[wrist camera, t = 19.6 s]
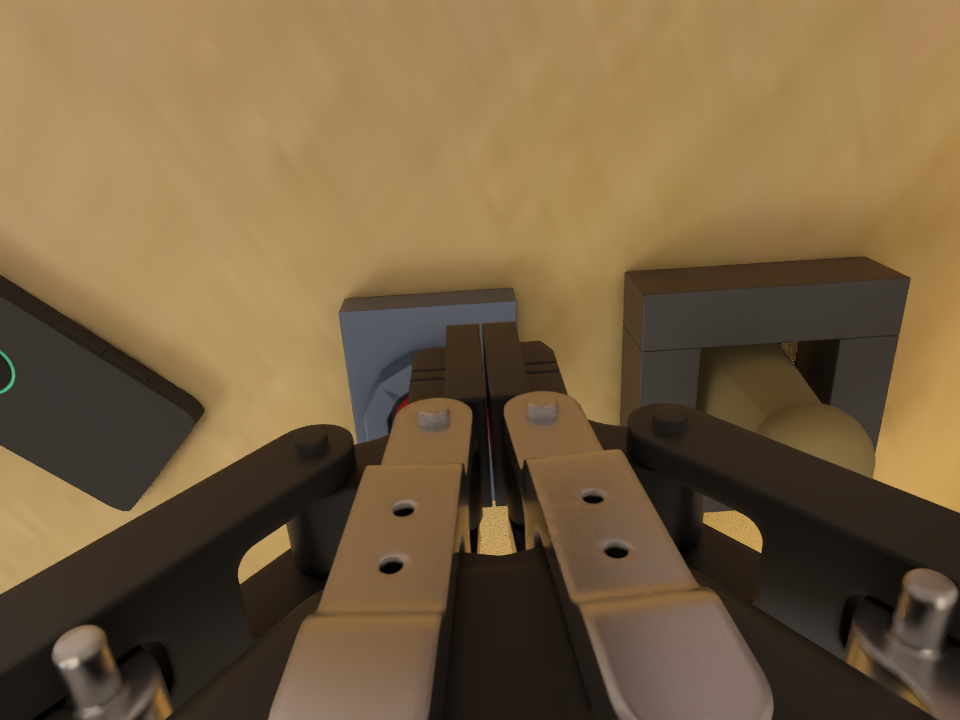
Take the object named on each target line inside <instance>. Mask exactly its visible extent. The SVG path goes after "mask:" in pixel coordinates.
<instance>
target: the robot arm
mask: <svg viewBox="0 0 960 720" xmlns="http://www.w3.org/2000/svg"><path fill="white" fill-rule="evenodd" d="M482 337H483V355H484V369H483V359H482V349H481V338H480V328H479V323H478V324H462V325H447V326H446V347H438V348H424V349H423V350H422V351H421V352H420V353H418V354H417V355H416V356H415V357H414V358H413V362H412V370H411V371H412V373H411V378H410V386H409V394H408V402H407V406H405V407H404V408H402V409H401V410H400V411H399V412H398V413H397V415H396V417H395V420H394V423H393V426H392V430H391V433H390V434H388V435H386V436H383V437H381V438H378V439H375V440H371V441H368V442H363V443H359V444H355V445H354V442H353V437H352V434H351V433H350V432H349V431H348V430H346V429H345V428H343V427H340V426H336V425H328V424H319V425H310V426H305V427H301V428H298V429H295V430H293V431H290V432H288V433H286V434H284V435H282V436H281V437H279V438H277V439H275V440H274V441H272V442H270V443H268V444H267V445H265V446H263V447H261V448H259V449H258V450H256V451H254V452H252V453H251V454H249V455H247V456H245V457H243V458H242V459H240V460H238V461H236V462H235V463H233V464H231V465H229V466H228V467H226V468H224V469H222V470H220V471H219V472H217V473H215V474H213V475H212V476H210V477H208V478H206V479H204V480H203V481H201V482H199V483H197V484H196V485H194V486H192V487H190V488H189V489H187V490H185V491H183V492H181V493H180V494H178V495H176V496H174V497H173V498H171V499H169V500H167V501H165V502H164V503H162V504H160V505H158V506H157V507H155V508H153V509H151V510H150V511H148V512H146V513H144V514H142V515H141V516H139V517H137V518H135V519H134V520H132V521H130V522H128V523H126V524H125V525H123V526H121V527H119V528H118V529H116V530H114V531H112V532H111V533H109V534H107V535H105V536H103V537H102V538H100V539H98V540H96V541H95V542H93V543H91V544H89V545H87V546H86V547H84V548H82V549H80V550H79V551H77V552H75V553H73V554H72V555H70V556H68V557H66V558H64V559H63V560H61V561H59V562H57V563H56V564H54V565H52V566H50V567H48V568H47V569H45V570H43V571H41V572H40V573H38V574H36V575H34V576H33V577H31V578H29V579H27V580H25V581H24V582H22V583H20V584H18V585H17V586H15V587H13V588H11V589H9V590H8V591H6V592H4V593H2V594H1V595H0V720H960V513H958V512H956V511H953V510H950V509H948V508H945V507H943V506H940V505H938V504H935V503H933V502H930V501H928V500H925V499H922V498H920V497H917V496H915V495H912V494H910V493H907V492H905V491H902V490H900V489H897V488H894V487H892V486H889V485H887V484H884V483H882V482H879V481H877V480H874V479H872V478H869V477H866V476H864V475H861V474H859V473H856V472H854V471H851V470H849V469H846V468H844V467H841V466H838V465H836V464H833V463H831V462H828V461H826V460H823V459H821V458H818V457H816V456H813V455H810V454H808V453H805V452H803V451H800V450H798V449H795V448H793V447H790V446H788V445H785V444H783V443H780V442H777V441H775V440H772V439H770V438H767V437H765V436H762V435H760V434H757V433H755V432H752V431H749V430H747V429H744V428H742V427H739V426H737V425H734V424H732V423H729V422H727V421H724V420H721V419H719V418H716V417H714V416H711V415H709V414H706V413H704V412H701V411H699V410H696V409H693V408H690V407H688V406H684V405H679V404H671V403H656V404H649V405H645V406H642V407H639V408H637V409H635V410H634V411H632V412H631V413H630V415H629V417H628V421H627V427H624V426H615V425H607V424H602V423H597V422H594V421H591V420H588V419H587V417H586V415H585V413H584V412H583V410H582V408H581V406H580V404H579V403H578V402H577V401H576V400H575V399H573V398H572V397H570V396H568V395H567V392H566V389H565V385H564V382H563V379H562V376H561V373H560V371H559V367H558V364H557V362H556V358H555V355H554V352H553V350H552V349H551V348H549V347H548V346H547V345H545V344H544V343H542V342H541V341H530V342H519V338H518V334H517V329H516V325H515V321H508V322H492V323H482ZM484 372H485V380H484ZM487 418H488V421H487ZM488 429H489V439H490V450H491V460H492V471H493V481H494V492H495V502H496V506H507V507H508V521H509V538H510V542H511V546H512V551H513V553H512V554H508V555H502V556H495V555H485V554H480V542H481V537H480V522H481V520H482V516H483V511H482V507H492V492H491V474H490V456H489V439H488ZM705 496H707V497H709V498H711V499H713V500H715V501H717V502H719V503H721V504H723V505H725V506H727V507H729V508H732V509H734V510H736V511H738V512H740V513H742V514H744V515H745V516H747V517H748V518H750V519H751V520H752V521H753V522H754V523H755V525H756V526H757V527H758V529H759V531H760V533H761V536H762V540H763V546H762V553H759V552H758V551H756V550H754V549H752V548H750V547H748V546H746V545H744V544H742V543H740V542H738V541H736V540H735V539H733V538H731V537H729V536H727V535H725V534H723V533H721V532H719V531H717V530H715V529H714V528H712V527H710V526H708V525H706V524H704V523H703V515H704V505H705ZM284 524H286V525H287V530H288V535H289V540H290V544H291V548H290V549H289V550H287V551H286V552H285V553H283V554H282V555H280V556H279V557H278V558H276V559H275V560H273V561H272V562H271V563H269V564H268V565H266V566H265V567H264V568H262V569H261V570H260V571H258V572H257V573H255V574H254V575H253V576H251V577H250V578H248V579H247V580H246V581H244V582H243V583H242V584H239V580H238V568H239V565H240V562H241V560H242V558H243V556H244V555H245V554H246V552H247V551H248V550H249V549H250V548H251V547H252V546H254V545H255V544H256V543H258V542H259V541H261V540H262V539H264V538H265V537H267V536H268V535H270V534H271V533H273V532H274V531H276V530H277V529H278V528H280V527H281V526H283V525H284Z"/></svg>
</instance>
